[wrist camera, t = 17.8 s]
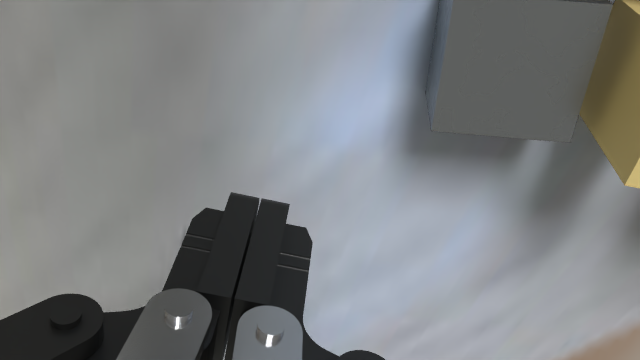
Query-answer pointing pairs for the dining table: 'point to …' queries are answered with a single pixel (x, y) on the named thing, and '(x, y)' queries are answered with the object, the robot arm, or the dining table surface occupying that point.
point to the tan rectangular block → (617, 92)
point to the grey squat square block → (513, 66)
